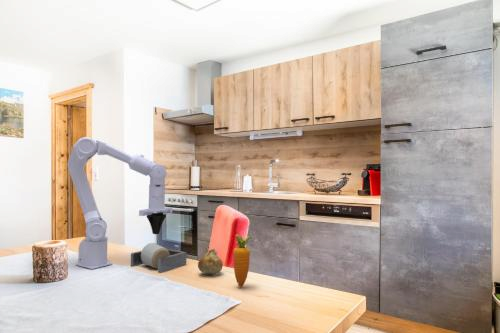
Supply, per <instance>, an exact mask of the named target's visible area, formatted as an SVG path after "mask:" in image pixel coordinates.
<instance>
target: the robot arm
mask: <svg viewBox="0 0 500 333" xmlns="http://www.w3.org/2000/svg"><path fill="white" fill-rule="evenodd" d="M95 155H98V156H109V157H110V158H114V159H116V160H118V161H121V162H123V163H125V164H127V165H128V167H129V169H130V170H132V171H135V172H136V173H139V174H141V175H143V176H146V177H147V176H148V177H149V186H148V208H145V209H139V211H138V216H140V217H145V216H146V219H147V220H148V222H149V224H150V227H151V232H152V235H159V234H160V231H161V229H162V225H163V223H164V222H165V219H166V217H167V214H168V213H169V214H171V213H173V207H170V206H169V207H165V205H166V202H165V200H166V197H165V196H166V184H165V183H166V176H167V174H168V173H167V169H166V167H164V165H162V164H157V161H155V160H150V159H148V158H146V157H145V155H143V154H140V155H139V154H134V155H131V154H129V153H127V152H125V151H123V150H120V148H119V149H118V148H116V147H114V146H113V145H110V144H108V143H106V142H103V141H100V140H99V139H98V140H97V139H93V138H92V137H88V136H83V137H81V138H79V139H78V140H77V141H76V142H75V143H74V144H73V146H72V149H71V152H70V156H69V159H68V162H67V168H68V172H69V174H70V177H71V180H72V184H73V186H74V189H75V190H74V191H75V193H76V195H77V198H78V201H79V205H80V208H81V211H82V213H83V217H84V222H85V226H86V227H85V234H86V237H84V238H83V239H82V240H81V241H80V242H79V245H78V255H77V256H78V258H77V259H78V260H77V261H78V262H76V263H75V266H78V267H82V268H86V269H90V270H94V269H98V268H102V267H106V266H111V265H113V262H110V261H108V240H109V239H108V238H109V237H108V236H106V234H107V229H108V228H107V227H108V225H107V222H106V221H105V220H104V219H103V217H102V216H101V213H100V211H99V209H98V206H97V202H96V200H95V197H94V194H93V190H92V187H91V185H90V182H89V180H88V177H87V173H86V170H85V167H86V165H87V163H88V162H89V161H90V159H91V158H93V157H94V156H95Z"/></svg>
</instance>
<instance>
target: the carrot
mask: <svg viewBox="0 0 500 333" xmlns="http://www.w3.org/2000/svg"><path fill="white" fill-rule="evenodd" d="M235 238H236V242H235V244H236V245H237V247H235V248H233V271H234V277H235V279H236V283H237V285H238V286H239V288H243V286H244V285H245V283H246V282H247V279H248V275H249V274H248V273H249V267H250V256H251V255H250V254H251V253H250V249H249V248H248V247H246V245H247V243H248V242H249V240H250V239H251V237H250V236H249V235H247V236H246V238H243V237H242V235H240V236H239V234H236V235H235Z"/></svg>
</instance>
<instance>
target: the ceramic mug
mask: <svg viewBox="0 0 500 333" xmlns="http://www.w3.org/2000/svg"><path fill="white" fill-rule="evenodd" d="M167 249H168V248H165V247H164V246H161V245H159V244H157V243H155V242H150V243H147V244H145V246H144V247H142V249H141V251H142V252H141V260H142V262H143V263H144V264H143V265H146V266H149V267H151V268H153V269H157V270H158V259H159V258H163V257H167V256H170V253H169V251H168V250H167Z"/></svg>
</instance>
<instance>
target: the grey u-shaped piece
mask: <svg viewBox="0 0 500 333" xmlns="http://www.w3.org/2000/svg"><path fill="white" fill-rule="evenodd" d="M166 249H167V250H168V251H169V253H170V256H167V257H163V258H159V259H158V269H157V273H158V274H162V273H165V272H168V271H172V270H174V269H177V268H180V267H185V266H187V255H188V254H187V251H182V250H175V249H169V248H166ZM141 252H142V250H140V251H136V252H132V253H130V267H137V266H140V265H145V264H144V263H143V262H142V260H141Z"/></svg>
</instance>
